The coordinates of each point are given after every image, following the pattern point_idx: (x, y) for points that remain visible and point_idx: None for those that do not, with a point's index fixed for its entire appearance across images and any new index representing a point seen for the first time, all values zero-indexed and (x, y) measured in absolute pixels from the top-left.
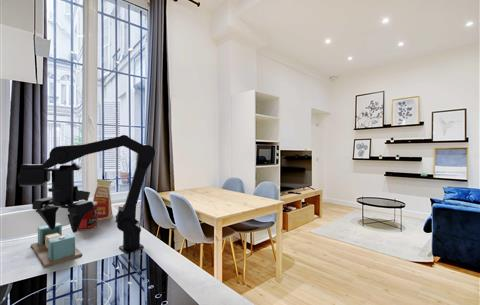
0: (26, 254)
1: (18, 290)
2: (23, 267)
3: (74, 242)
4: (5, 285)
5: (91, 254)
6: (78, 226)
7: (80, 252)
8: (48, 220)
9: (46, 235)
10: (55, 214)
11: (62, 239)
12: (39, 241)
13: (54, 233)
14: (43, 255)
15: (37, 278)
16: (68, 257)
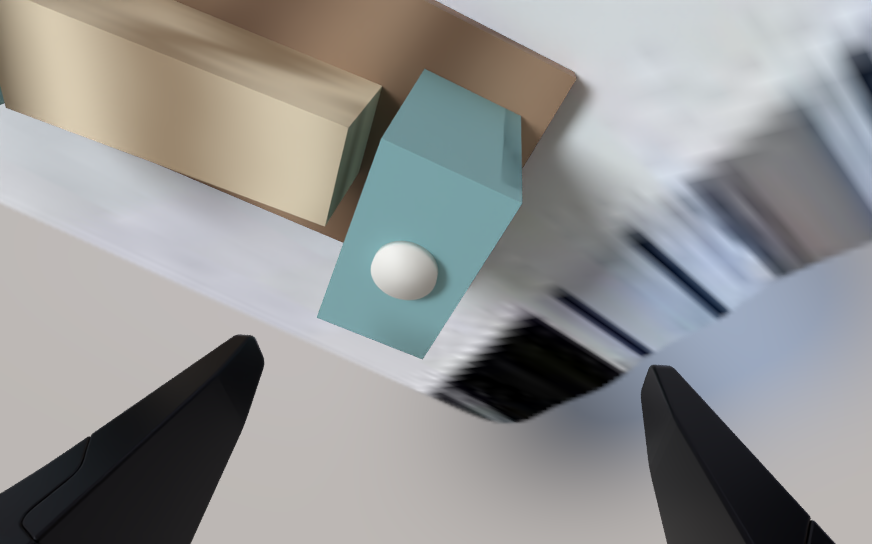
0: (144, 186)
1: (536, 414)
2: None
3: (518, 173)
4: (442, 400)
5: (652, 11)
6: (732, 443)
7: (541, 67)
8: (192, 516)
9: (21, 106)
10: (69, 519)
11: (447, 290)
12: None
13: (1, 23)
14: None
15: (527, 351)
16: None
